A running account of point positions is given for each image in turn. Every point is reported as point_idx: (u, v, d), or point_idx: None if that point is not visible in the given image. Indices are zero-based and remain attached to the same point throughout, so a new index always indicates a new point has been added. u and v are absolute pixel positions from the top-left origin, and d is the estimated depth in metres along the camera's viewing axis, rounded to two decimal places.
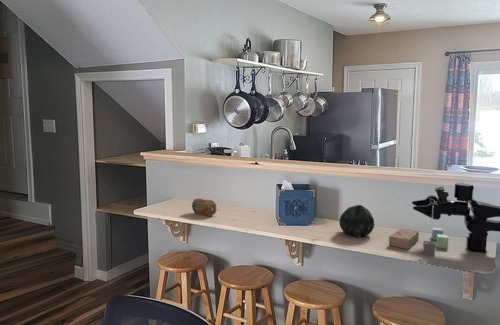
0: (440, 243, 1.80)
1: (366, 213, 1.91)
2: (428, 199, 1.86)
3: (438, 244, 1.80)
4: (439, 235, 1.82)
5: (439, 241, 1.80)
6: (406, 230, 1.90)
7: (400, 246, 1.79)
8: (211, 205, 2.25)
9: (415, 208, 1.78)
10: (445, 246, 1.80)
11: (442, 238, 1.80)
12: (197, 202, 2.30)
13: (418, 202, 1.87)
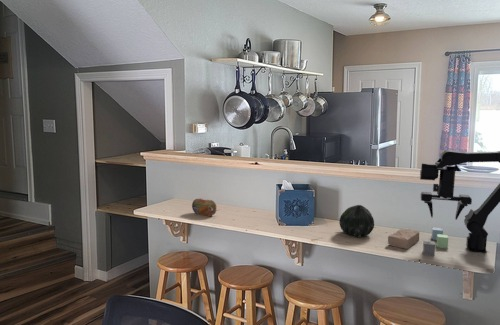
0: (440, 243, 1.80)
1: (366, 213, 1.91)
2: None
3: (438, 244, 1.80)
4: (439, 235, 1.82)
5: (439, 241, 1.80)
6: (407, 230, 1.90)
7: (399, 246, 1.80)
8: (211, 205, 2.25)
9: None
10: (445, 246, 1.80)
11: (442, 238, 1.80)
12: (197, 202, 2.30)
13: (456, 212, 1.79)
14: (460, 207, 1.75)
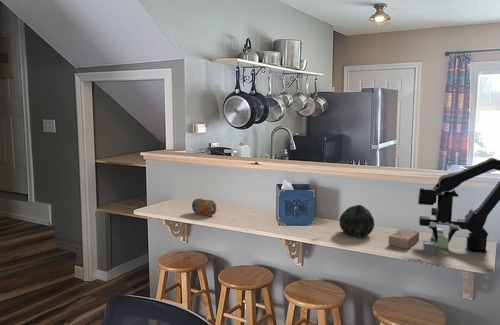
0: (440, 243, 1.80)
1: (366, 213, 1.91)
2: (449, 227, 1.82)
3: (438, 244, 1.80)
4: (439, 235, 1.82)
5: (439, 241, 1.80)
6: (406, 230, 1.90)
7: (399, 246, 1.79)
8: (211, 205, 2.25)
9: None
10: (445, 246, 1.80)
11: (442, 238, 1.80)
12: (197, 202, 2.30)
13: (448, 236, 1.81)
14: (451, 231, 1.78)
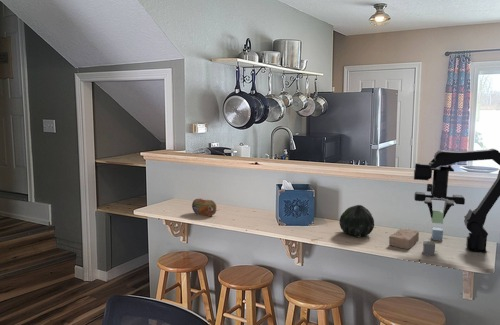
0: (435, 218, 1.79)
1: (366, 213, 1.91)
2: None
3: (433, 219, 1.80)
4: (434, 210, 1.81)
5: (434, 216, 1.79)
6: (406, 230, 1.90)
7: (400, 246, 1.79)
8: (211, 205, 2.25)
9: None
10: (440, 221, 1.79)
11: (437, 213, 1.79)
12: (197, 202, 2.30)
13: (443, 212, 1.80)
14: (447, 206, 1.77)
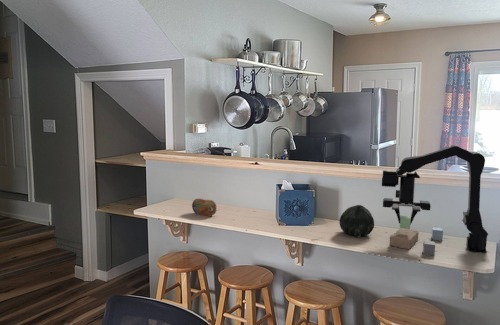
0: (403, 224, 1.84)
1: (366, 213, 1.91)
2: (412, 208, 1.85)
3: (401, 225, 1.84)
4: (402, 216, 1.85)
5: (402, 222, 1.84)
6: (406, 230, 1.90)
7: (401, 246, 1.79)
8: (211, 205, 2.25)
9: None
10: (407, 227, 1.83)
11: (404, 219, 1.83)
12: (197, 202, 2.30)
13: None
14: (413, 212, 1.81)
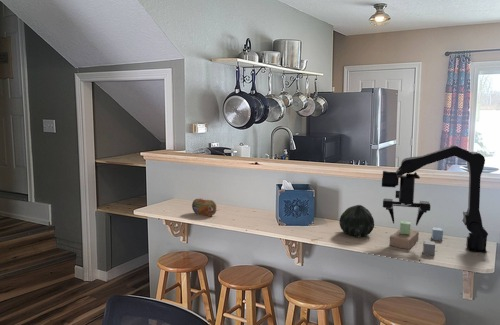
0: (403, 229, 1.84)
1: (366, 213, 1.91)
2: (418, 209, 1.85)
3: (401, 230, 1.84)
4: (402, 222, 1.86)
5: (402, 227, 1.84)
6: None
7: (401, 246, 1.79)
8: (211, 205, 2.25)
9: None
10: (407, 232, 1.84)
11: (404, 224, 1.83)
12: (197, 202, 2.30)
13: (417, 219, 1.84)
14: (419, 213, 1.80)
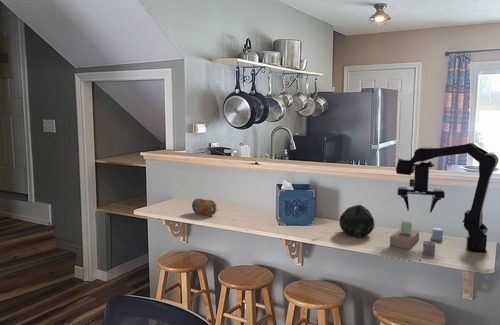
0: (404, 229, 1.84)
1: (366, 213, 1.91)
2: (432, 197, 1.90)
3: (402, 230, 1.84)
4: (403, 222, 1.86)
5: (403, 228, 1.84)
6: None
7: (401, 246, 1.79)
8: (211, 205, 2.25)
9: (407, 208, 1.92)
10: (409, 232, 1.84)
11: (406, 225, 1.83)
12: (197, 202, 2.30)
13: (431, 206, 1.89)
14: (434, 201, 1.86)
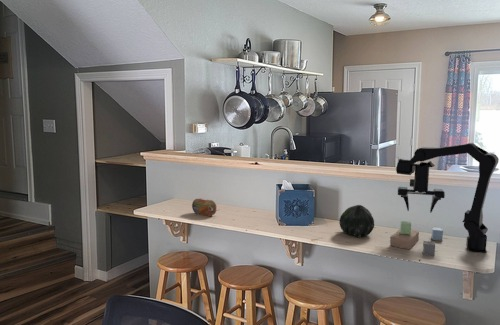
0: (403, 229, 1.84)
1: (366, 213, 1.91)
2: (432, 197, 1.90)
3: (401, 230, 1.84)
4: (403, 222, 1.86)
5: (402, 227, 1.84)
6: None
7: (401, 246, 1.79)
8: (211, 205, 2.25)
9: (407, 208, 1.92)
10: (408, 232, 1.84)
11: (405, 224, 1.84)
12: (197, 202, 2.30)
13: (431, 206, 1.89)
14: (434, 201, 1.86)
